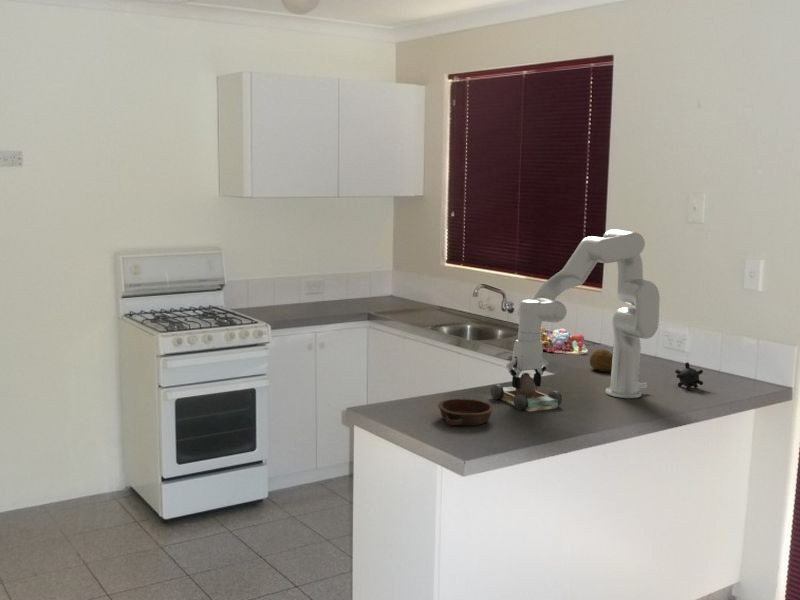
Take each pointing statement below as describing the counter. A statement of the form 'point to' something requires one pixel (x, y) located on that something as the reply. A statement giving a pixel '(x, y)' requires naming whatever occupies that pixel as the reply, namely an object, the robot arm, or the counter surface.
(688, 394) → the counter surface
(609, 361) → the potato
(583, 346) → the pastel sphere sculpture
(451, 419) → the dish
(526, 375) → the brown ovoid
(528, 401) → the cart chassis
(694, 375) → the toy ball
